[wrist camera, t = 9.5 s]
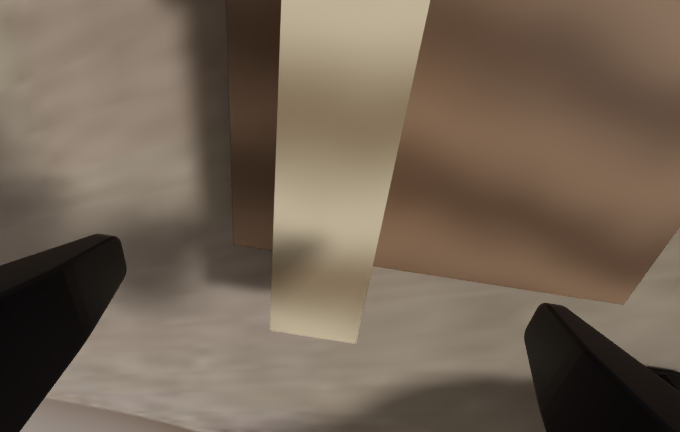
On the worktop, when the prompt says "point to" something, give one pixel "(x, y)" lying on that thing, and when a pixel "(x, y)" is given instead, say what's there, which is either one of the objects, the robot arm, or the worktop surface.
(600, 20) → the mounting board
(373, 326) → the worktop surface
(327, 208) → the rail
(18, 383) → the robot arm
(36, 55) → the worktop surface
